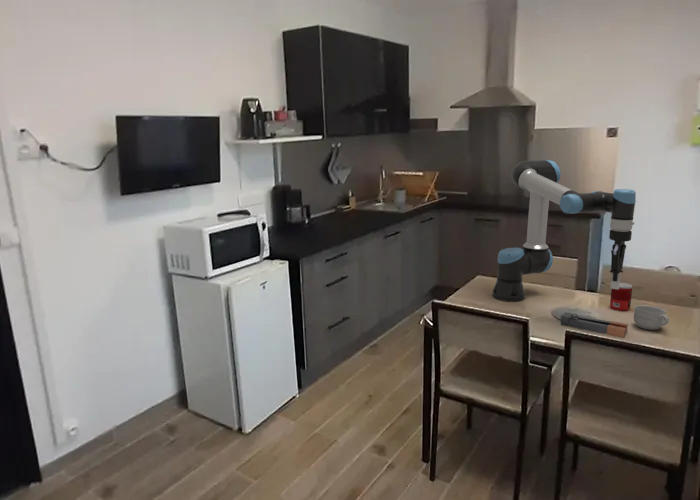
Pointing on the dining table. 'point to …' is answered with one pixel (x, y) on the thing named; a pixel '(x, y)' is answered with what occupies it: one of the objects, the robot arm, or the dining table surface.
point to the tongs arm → (600, 321)
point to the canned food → (621, 297)
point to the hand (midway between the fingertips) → (614, 288)
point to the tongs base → (592, 326)
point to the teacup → (650, 317)
